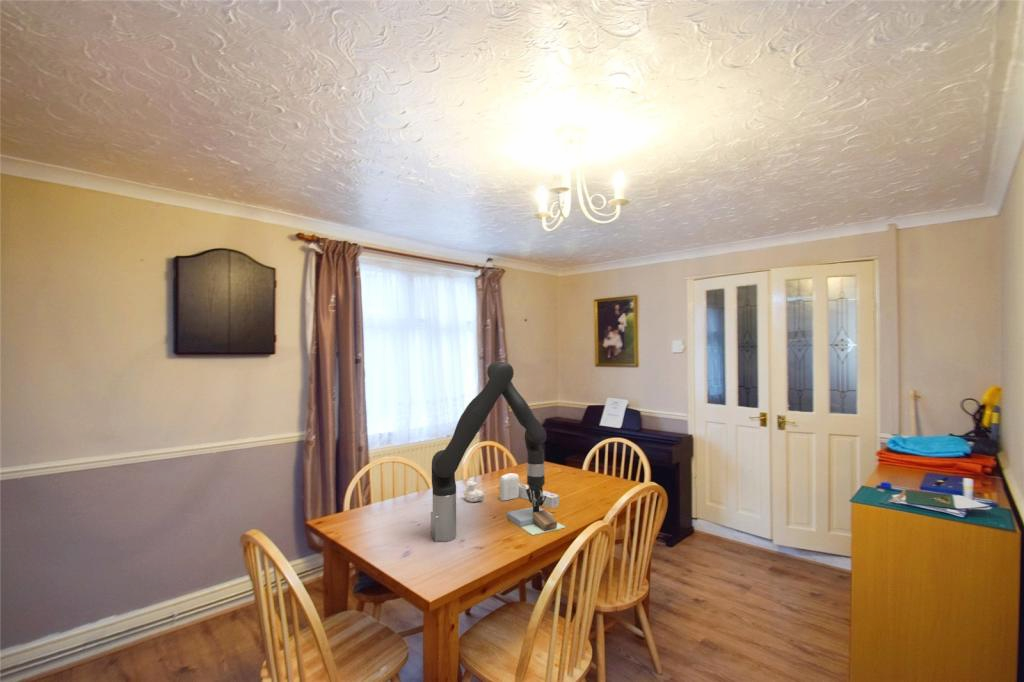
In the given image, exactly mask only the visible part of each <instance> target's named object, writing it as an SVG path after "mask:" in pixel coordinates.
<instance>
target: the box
mask: <svg viewBox="0 0 1024 682" xmlns="http://www.w3.org/2000/svg"><path fill="white" fill-rule="evenodd" d="M526 489H529V485H528V484H527V483H523V482H519V498H522V499H524V500H527V501H529V498H528V495H527V492H526ZM543 495H544V496H546V499H545V501H544V503H543V505H542V506H544V507H546V508H549V509H555V508H557V507H560V495H558V494H557V493H554V492H553V493H552V492H549V491H547V490H544V489H543Z"/></svg>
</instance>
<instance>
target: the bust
mask: <svg viewBox="0 0 1024 682" xmlns="http://www.w3.org/2000/svg"><path fill="white" fill-rule="evenodd" d="M477 484H478V482H475V481H474V480H466V488H464V489H463V490H462V492H463V495H464V499H465V500H467V501H468V502H469V503H476V502H483V501H484V500H485V494H484V492H483V490H481V489H477V488H476V487H477Z"/></svg>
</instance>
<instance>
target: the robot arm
mask: <svg viewBox="0 0 1024 682" xmlns="http://www.w3.org/2000/svg"><path fill="white" fill-rule="evenodd" d="M486 371H487V377H488V381H487V383H486V384H485V386H484V387H483V389H481V391H480V392H479V393H478V394H477V395H476V396H475V397H474V398H473V399H472V400H471V401H470V402H469V403H468V404H467V406H465V407H466V408H465V409H464V411H463V412H462V414H461V415H460V416H459V420H458V421H457V424H456V427H455V429H454V433H453V435H452V437H451V439H450V441H449V443H448V444H447V446H446V447H445V449H442V450H439V451H437V452H435V454H434V455H433V456H432V459H431V487H432V488H431V490H432V511H431V512H430V537H431V539H433V541H434V542H436V543H438V542H450V541H452V540H455V539H456V538H457V484H456V476H455V475H456V474H455V473H456V472H457V469H458V468H459V467H460V464H461V462H462V459H463V457H464V455H465V453H466V452H467V450H468V448H469V446H470V445H471V443H472V442H473V440H474V439H475V438H476V436H477V434H478V432H479V431H480V430H481V428H482V426H483V425H484V423H485V421H486V420H487V418H488V416H489V414H490V413H491V412H492V410H493V408H494V406H495V404H496V402H497V401H498V399H499V398H500V396H501V395H502V396H503V398H504V399H505V401H506V403H507V405H508V406H509V407H510V409H511V411H512V413H513V415H514V416H515V418H516V420H517V421H518V423H519V425H520V426H522V427H523V428H524V429H525V431H524V441H525V442H524V443H525V447H526V451H527V452H526V453H527V465H526V466H527V467H526V485H529V489H526V492H527V495H528V498H529V500H528V501H529V503H531V505H532V507H533V512H538V511H539V507H541V506H543V503H544V501H545V499H546V496H544V495H543V490H544V489H543V486H544V485H545V483H546V482H545V481H546V479H545V478H546V477H545V473H546V471H545V453H544V450H543V448H541V444H544V443H545V442H546V441H547V431H546V429H545V428H544V426H543V425H542V424H541V422H540V421H539V420H538V419H537V418H536V416H535V415H534V413H533V411H532V409H531V407H530V406H529V405H528V404H529V403H527V401H526V400H525V398H524V397H523V396H522V395H521V394H520V393H519V391H518V390H517V389H516V387H515V386H514V384H513V382H512V380H513V378H514V373H515V372H514V368H513V366H512V365H511V364H510V363H507V362H505V361H504V362H503V361H493V362H491V363H490V364H489V366H488V367H487V370H486Z"/></svg>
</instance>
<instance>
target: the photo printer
mask: <svg viewBox="0 0 1024 682" xmlns="http://www.w3.org/2000/svg"><path fill="white" fill-rule="evenodd" d="M519 483H520V477H519V475H518V474H517V473H513V472H512V473H511V472H510V473H505V474H504V475H501V476H500V477H499V501H502V502H504V501H509V500H515V499H518V498H520V497H519Z"/></svg>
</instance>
